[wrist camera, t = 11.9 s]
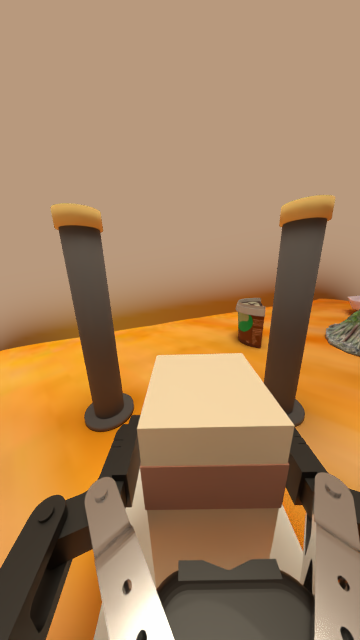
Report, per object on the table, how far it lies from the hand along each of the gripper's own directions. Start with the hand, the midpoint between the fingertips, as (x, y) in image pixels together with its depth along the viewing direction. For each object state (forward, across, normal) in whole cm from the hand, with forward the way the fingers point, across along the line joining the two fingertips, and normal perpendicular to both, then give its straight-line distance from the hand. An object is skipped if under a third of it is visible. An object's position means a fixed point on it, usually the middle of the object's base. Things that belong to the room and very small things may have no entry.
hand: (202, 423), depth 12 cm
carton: (-2, 0, +7) cm, 8 cm away
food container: (+33, -16, +8) cm, 38 cm away
